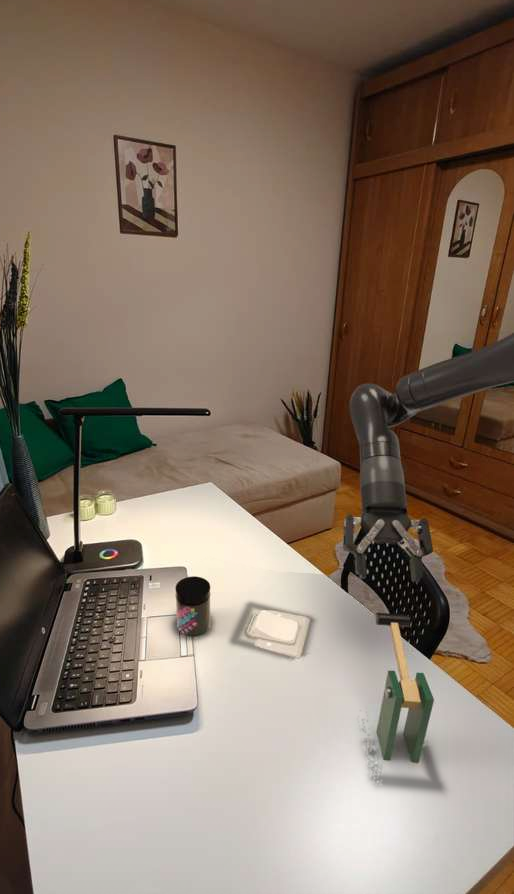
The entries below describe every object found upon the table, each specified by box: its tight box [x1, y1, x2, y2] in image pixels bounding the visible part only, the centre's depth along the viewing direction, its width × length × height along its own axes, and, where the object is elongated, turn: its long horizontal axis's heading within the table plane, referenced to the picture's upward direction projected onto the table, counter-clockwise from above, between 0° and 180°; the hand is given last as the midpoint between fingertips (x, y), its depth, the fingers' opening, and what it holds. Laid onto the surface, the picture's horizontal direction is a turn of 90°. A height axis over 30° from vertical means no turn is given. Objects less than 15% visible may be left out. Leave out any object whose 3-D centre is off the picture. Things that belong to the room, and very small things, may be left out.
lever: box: [375, 612, 421, 709], centre depth 66 cm, size 13×5×2 cm, turn 176°
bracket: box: [376, 670, 435, 764], centre depth 63 cm, size 10×8×14 cm
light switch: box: [246, 609, 311, 659], centre depth 87 cm, size 11×4×13 cm
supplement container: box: [175, 575, 211, 638], centre depth 87 cm, size 7×7×10 cm
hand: (389, 579), depth 72 cm, fingers open, 8 cm apart
